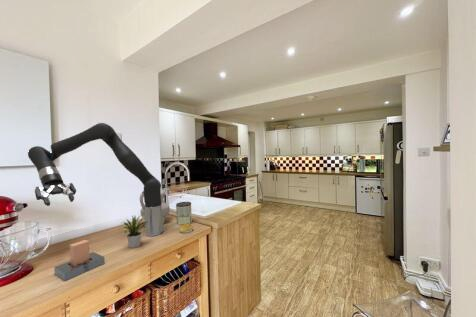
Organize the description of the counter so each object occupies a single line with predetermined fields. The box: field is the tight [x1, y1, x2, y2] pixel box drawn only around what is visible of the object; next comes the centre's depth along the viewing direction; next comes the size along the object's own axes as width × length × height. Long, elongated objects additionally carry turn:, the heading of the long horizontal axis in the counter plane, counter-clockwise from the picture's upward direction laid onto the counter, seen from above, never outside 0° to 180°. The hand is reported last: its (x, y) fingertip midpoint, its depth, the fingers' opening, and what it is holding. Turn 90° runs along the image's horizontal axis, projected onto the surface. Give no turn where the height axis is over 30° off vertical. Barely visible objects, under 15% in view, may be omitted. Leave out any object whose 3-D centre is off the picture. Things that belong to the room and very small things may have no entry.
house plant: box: [121, 215, 150, 249], centre depth 103 cm, size 14×14×16 cm
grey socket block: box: [53, 251, 105, 282], centre depth 84 cm, size 14×10×3 cm
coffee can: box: [175, 201, 193, 226], centre depth 139 cm, size 10×10×14 cm
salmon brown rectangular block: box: [69, 239, 90, 267], centre depth 84 cm, size 6×4×11 cm, turn 150°
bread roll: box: [178, 224, 194, 234], centre depth 124 cm, size 8×9×4 cm
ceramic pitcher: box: [139, 187, 171, 223], centre depth 141 cm, size 22×20×25 cm
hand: (61, 202), depth 93 cm, fingers open, 8 cm apart
